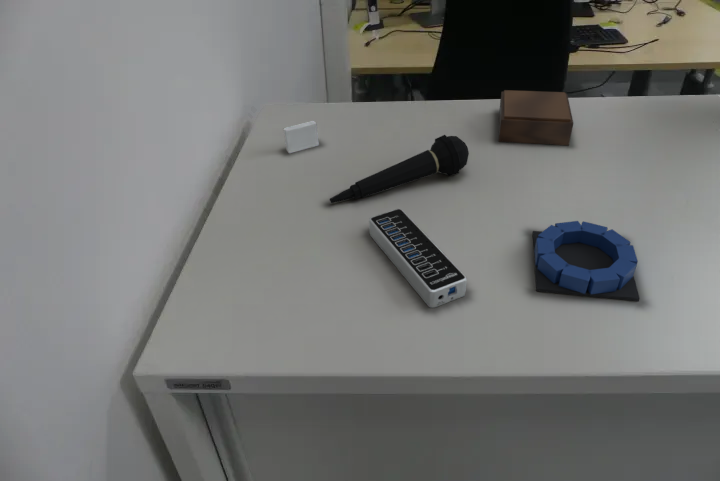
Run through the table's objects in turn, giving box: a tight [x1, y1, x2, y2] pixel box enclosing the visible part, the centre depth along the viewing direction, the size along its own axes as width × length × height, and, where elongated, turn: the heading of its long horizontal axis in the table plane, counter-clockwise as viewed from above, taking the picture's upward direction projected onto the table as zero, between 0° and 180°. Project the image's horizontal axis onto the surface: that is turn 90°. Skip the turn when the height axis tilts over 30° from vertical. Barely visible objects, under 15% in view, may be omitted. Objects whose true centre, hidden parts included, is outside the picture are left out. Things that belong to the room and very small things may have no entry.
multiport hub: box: [368, 208, 468, 309], centre depth 62 cm, size 4×14×2 cm, turn 26°
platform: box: [498, 89, 574, 146], centre depth 85 cm, size 10×10×4 cm
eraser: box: [282, 120, 320, 154], centre depth 84 cm, size 1×5×4 cm, turn 116°
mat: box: [532, 230, 641, 302], centre depth 61 cm, size 10×10×1 cm
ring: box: [533, 220, 638, 294], centre depth 60 cm, size 10×10×2 cm
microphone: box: [329, 134, 470, 204], centre depth 74 cm, size 6×6×20 cm
